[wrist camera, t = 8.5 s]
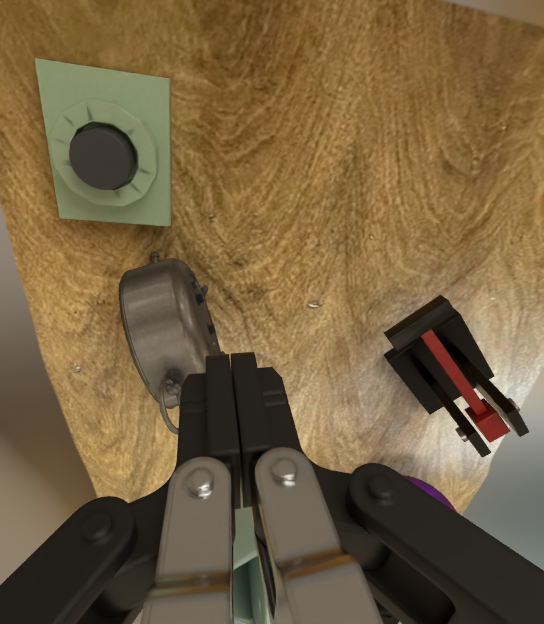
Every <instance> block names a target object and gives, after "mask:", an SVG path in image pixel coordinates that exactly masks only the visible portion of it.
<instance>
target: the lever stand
mask: <svg viewBox="0 0 544 624" xmlns="http://www.w3.org/2000/svg"><path fill="white" fill-rule="evenodd" d="M454 310H455V309H454ZM455 311H456V310H455ZM432 331H433V332H434V334H435V335H436V336H437V338H438V339H439V341H440V342H441V344H442V345H443V347H444V348H445V349H446V351H447V352H448V354H449V355H450V357H451V358H452V360H453V361H454V362H455V364H456V365H457V367H458V368H459V370H460V371H461V373H462V374H463V375H464V377H465V378H466V380H467V381H468V383H469V384H470V386H471V387H472V388H473V389H474V388H476V389H477V390H478V391H479V392H480V393H481V394H482V395H483V397H484V398H485V399H486V400H487V401H488V402H489V403H490V404H491V405H492V407H493V408H494V409H495V410H496V411H497V412H498V413H499V414H500V415H501V417H502V418H503V419H504V420H505V421H506V422H507V423H508V424H509V426H510V427H512V429H513V430H514V431H515V432H516V433H517V434H518V435H519V436H520V437H521V436H523V435H525V434H526V433H528V432H529V430H528V428H527V427H526V425H525V423H524V421H523V419H522V418H521V416H520V414H519V411H520V409H519V407H518V406H517V404H516V403H515V402H514V401H513V400H512V399H511V398H508V399H507V398H506V397H505V396H504V395H503V394H502V393H501V392H500V391H499V390H498V389H497V388H496V387H495V386H494V385H493V384H492V383H491V382H490V381H489V379H491V378H492V377H494V374H493V372H492V371H491V369H490V367H489V365H488V363H487V362H486V360H485V358H484V356H483V354H482V353H481V351H480V349H479V347H478V345H477V344H476V342H475V340H474V338H473V336H472V335H471V333H470V331H469V329H468V327H467V325H466V324H465V322H464V320H463V318H462V316H461V315H460V314H459V313H458V312H457V311H456V313H455V314H454V315H452V316H451V317H449V318H448V319H446V320H445V321H443V322H441V323H440V324H438V325H437V326H435V327H434V328H432ZM384 356H385V358H386V359H387V361H388V362H389V363H390V365H391V366H392V367H393V369H394V370H395V371H396V372H397V374H398V375H399V376H400V377H401V379H402V380H403V381H404V383H405V384H406V385H407V386H408V388H409V389H410V390H411V391H412V393H413V394H414V395H415V397H416V398H417V399H418V400H419V402H420V403H421V404H422V405H423V407H424V408H425V409H426V411H427V412H428V413H429V414H432V413H434V412H435V411H437V410H439V409H440V408H442V407H445V408H446V410H447V411H448V412H449V414H450V415H451V417H452V418H453V419H454V421H455V422H456V423H457V425H458V426H459V427H458V428H457V429H455V430H456V431H457V433H458V434H459V436H460V437H461V438H462V440H463V441H464V442H466V441H468V440H469V441H470V442H471V443H472V445H473V446H474V447H475V449H476V450H477V451H478V453H479V454H480V455H481V457H484V456H486V455H488V454H490V453H491V451H490V450H489V448H488V447H487V445H486V444H485V443H484V441H483V440H482V438H481V437H480V435H479V434H478V432H477V431H476V430H475V429H474V427H473V426H472V425H471V423H470V422H469V421H468V420H467V418H466V417H465V416H464V415H463V413H462V412H461V411H460V409H459V408H458V407H457V406H456V404H455V403H454V402H453V401H454V400H455V399H457V398H459V397H460V396H462V395H461V394H460V392H459V391H458V389H457V388H456V387H455V385H454V384H453V382H452V381H451V379H450V378H449V377H448V375H447V374H446V372H445V371H444V370H443V368H442V367H441V365H440V364H439V363H438V361H437V360H436V358H435V357H434V355H433V354H432V353H431V351H430V350H429V348H428V347H427V346H426V344H425V343H424V341H423V340H422V339H421V337H418V338H417V339H415V340H414V341H412V342H411V343H409V344H408V345H406V346H405V347H403V348H402V349H400V350H398V351H396V349H395V348H393V349H392V350H390V351H389V352H387V353H386V354H384Z"/></svg>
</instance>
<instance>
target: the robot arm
mask: <svg viewBox="0 0 544 624" xmlns="http://www.w3.org/2000/svg"><path fill="white" fill-rule="evenodd" d="M205 361H206V373H196V374H188V376H187V378H186V379H185V381H184V383H183V384H182V386H181V394H180V416H179V431H178V450H177V463H176V467H175V470H174V472H173V474H172V476H171V477H170V478H169V480H168V481H167V482H166V483H165V484H164V485H163V486H162V487H161V488H159V489H158V490H156V491H155V492H153V493H151V494H149V495H147V496H145V497H142V498H140V499H138V500H136V501H133V502H131V503H129V504H128V503H127V502H126V501H125V500H123V499H121V498H118V497H112V496H108V497H101V498H97V499H94V500H92V501H90V502H88V503H86V504H85V505H83V506H82V507H81V508H79V509H78V510H77V511H76V512H74V513H73V514H72V515H71V517H70V518H68V519H67V520H66V521H65V522H64V523H63V524H62V525H61V526H60V527H59V528H58V529H57V530H56V531H55V532H54V533H53V534H52V535H51V536H50V537H49V538H48V539H47V540H46V541H45V542H44V543H43V544H42V545H41V546H40V547H39V548H38V549H37V550H36V551H35V552H34V553H33V554H32V555H31V556H30V557H29V558H28V559H27V560H26V561H25V562H24V563H23V564H22V565H21V566H20V567H19V568H18V569H16V570H15V572H13V574H11V575H10V576H9V578H7V579H6V580H5V581H4V582H3V583H2V584H1V585H0V624H132V623H133V622H134V620H135V619H136V617H137V616H138V614H139V613H140V612H141V610H142V609H143V612H142V618H141V624H234V540H235V535H236V525H235V509H241V491H240V481H241V490H242V500H243V508H246V507H252V513H253V521H254V541H255V546H256V551H257V556H258V561H259V566H260V572H261V577H262V582H263V587H264V592H265V597H266V602H267V607H268V613H269V618H270V624H383V621H382V619H381V616H380V614H379V611H378V609H377V606H376V604H375V601H374V599H373V597H374V598H375V599H376V600H377V601H378V602H379V603H380V604H381V605H382V606H384V607H385V608H386V609H387V610H388V611H389V612H390V613H391V614H392V615H393V616H395V617H396V618H397V619H398V620H399V621H400V622H401V623H402V624H544V571H543V570H542V569H540V568H539V567H537V566H536V565H534V564H533V563H531V562H530V561H528V560H527V559H525V558H524V557H522V556H521V555H519V554H518V553H516V552H515V551H513V550H512V549H510V548H509V547H507V546H506V545H504V544H503V543H502V542H500V541H499V540H497V539H495V538H494V537H493V536H491V535H490V534H488V533H486V532H485V531H484V530H482V529H481V528H479V527H478V526H476V525H475V524H473V523H472V522H470V521H469V520H467V519H466V518H464V517H463V516H461V515H460V514H458V513H457V512H455V511H454V510H452V509H451V508H450V507H448V506H447V505H445V504H444V503H442V502H441V501H439V500H438V499H436V498H435V497H433V496H432V495H430V494H429V493H427V492H426V491H424V490H423V489H421V488H420V487H418V486H417V485H415V484H414V483H412V482H411V481H409V480H408V479H406V478H405V477H403V476H402V475H400V474H399V473H398V472H396V471H395V470H393V469H391V468H389V467H387V466H385V465H381V464H376V463H368V464H364V465H361V466H359V467H358V468H356V469H355V470H354V471H353V473H352V474H349V473H343V472H338V471H332V470H328V469H325V468H322V467H320V466H318V465H316V464H315V463H313V462H312V461H311V460H310V459H309V458H307V456H306V455H305V454H304V452H303V450H302V448H301V446H300V442H299V439H298V435H297V431H296V428H295V424H294V420H293V417H292V413H291V409H290V406H289V404H288V399H287V395H286V393H285V388H284V384H283V380H282V377H281V376H280V375H279V374H278V373H277V372H276V371H275V370H274V369H273V367H266V368H257V363H256V358H255V354H254V352H246V353H233V354H231V368H230V359H229V354H222V355H209V356H205Z"/></svg>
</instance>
